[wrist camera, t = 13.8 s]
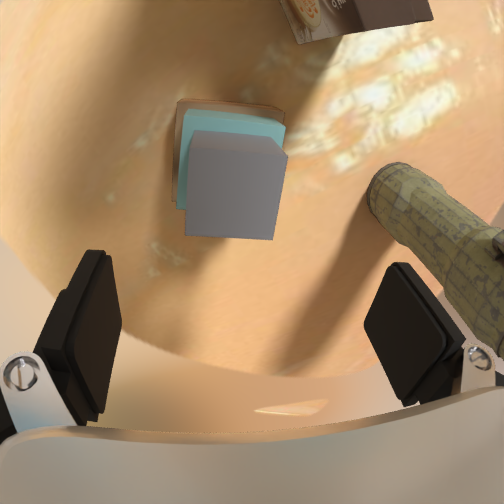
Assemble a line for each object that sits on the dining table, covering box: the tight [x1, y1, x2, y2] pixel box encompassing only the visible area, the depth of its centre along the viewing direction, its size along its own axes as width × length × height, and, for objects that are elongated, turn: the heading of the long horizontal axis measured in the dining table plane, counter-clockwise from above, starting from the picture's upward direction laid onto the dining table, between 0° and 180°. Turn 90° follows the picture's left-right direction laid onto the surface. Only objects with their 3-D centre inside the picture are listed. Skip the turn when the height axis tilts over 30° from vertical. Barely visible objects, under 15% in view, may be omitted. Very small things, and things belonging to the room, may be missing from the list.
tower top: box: [176, 109, 286, 210], centre depth 27 cm, size 8×8×5 cm
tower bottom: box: [172, 99, 285, 202], centre depth 31 cm, size 10×10×5 cm
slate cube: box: [185, 130, 288, 240], centre depth 22 cm, size 6×6×6 cm
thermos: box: [367, 162, 504, 361], centre depth 24 cm, size 9×12×35 cm
